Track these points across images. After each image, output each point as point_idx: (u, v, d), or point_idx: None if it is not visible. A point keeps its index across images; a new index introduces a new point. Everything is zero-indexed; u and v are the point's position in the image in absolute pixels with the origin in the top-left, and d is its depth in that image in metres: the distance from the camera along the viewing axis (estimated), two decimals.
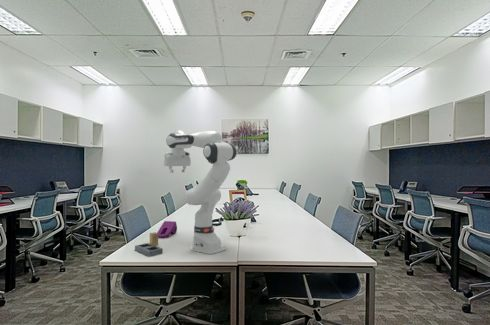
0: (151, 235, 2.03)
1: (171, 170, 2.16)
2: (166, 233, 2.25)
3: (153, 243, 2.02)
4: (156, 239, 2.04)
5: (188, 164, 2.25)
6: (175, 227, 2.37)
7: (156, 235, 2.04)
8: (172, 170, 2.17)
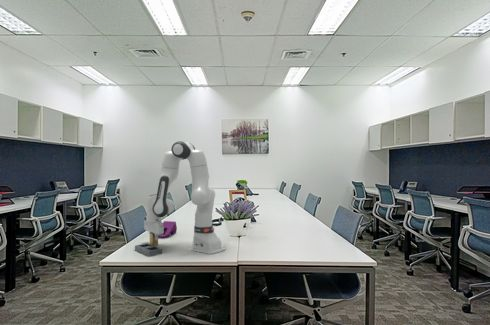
0: (151, 235, 2.03)
1: (157, 237, 2.03)
2: (166, 233, 2.25)
3: (153, 243, 2.02)
4: None
5: None
6: (175, 227, 2.37)
7: None
8: None
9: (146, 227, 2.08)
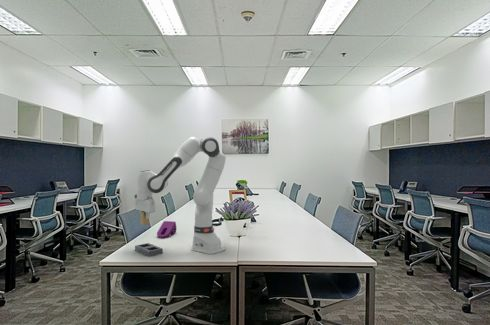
0: (142, 213, 1.91)
1: (148, 216, 1.91)
2: (166, 233, 2.25)
3: (144, 222, 1.90)
4: None
5: None
6: (175, 227, 2.37)
7: None
8: None
9: (137, 206, 1.96)
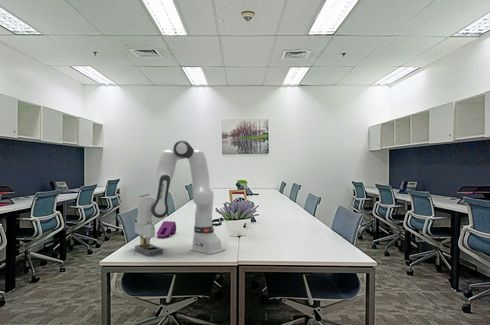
0: (142, 240, 1.91)
1: (149, 241, 1.90)
2: (166, 233, 2.25)
3: None
4: (147, 244, 1.92)
5: None
6: (174, 227, 2.37)
7: None
8: None
9: (137, 230, 1.96)
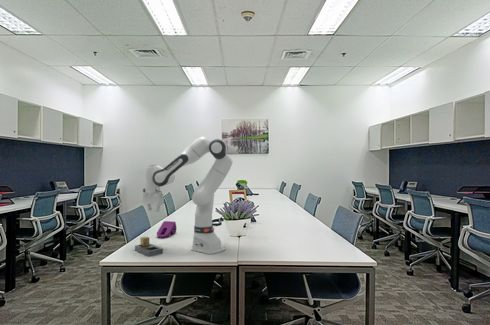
0: (142, 240, 1.91)
1: (158, 209, 1.97)
2: (166, 233, 2.25)
3: None
4: (147, 244, 1.92)
5: None
6: (175, 227, 2.37)
7: (147, 240, 1.92)
8: (158, 209, 1.97)
9: (145, 199, 2.04)
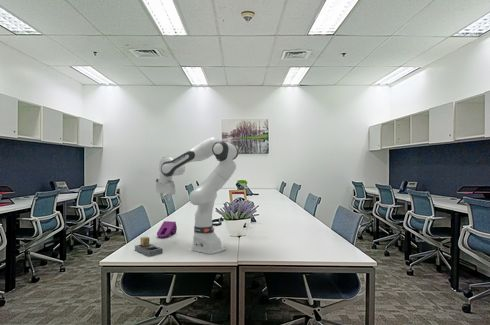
0: (142, 240, 1.91)
1: (170, 198, 2.10)
2: (166, 233, 2.24)
3: None
4: (147, 244, 1.92)
5: None
6: (175, 227, 2.37)
7: (147, 240, 1.92)
8: None
9: (158, 189, 2.17)
